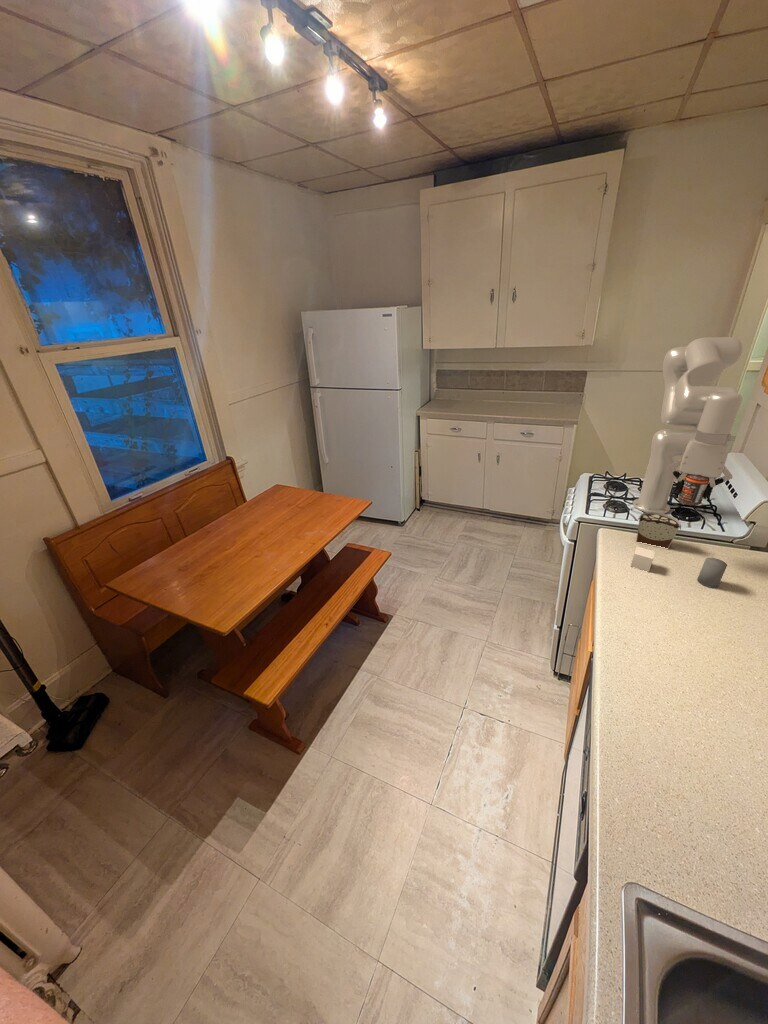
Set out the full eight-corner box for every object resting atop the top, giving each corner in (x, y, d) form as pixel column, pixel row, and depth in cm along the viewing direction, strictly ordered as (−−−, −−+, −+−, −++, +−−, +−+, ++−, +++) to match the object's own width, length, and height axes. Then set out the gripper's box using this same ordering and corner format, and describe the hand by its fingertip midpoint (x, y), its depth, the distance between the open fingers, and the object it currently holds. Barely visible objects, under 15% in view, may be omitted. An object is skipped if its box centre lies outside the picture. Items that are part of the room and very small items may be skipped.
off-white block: (632, 559, 130) (636, 546, 128) (650, 564, 127) (655, 551, 125) (630, 567, 127) (634, 553, 124) (648, 572, 124) (653, 558, 122)
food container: (673, 542, 138) (682, 516, 134) (673, 550, 134) (682, 524, 129) (632, 533, 144) (639, 508, 140) (631, 541, 140) (638, 515, 135)
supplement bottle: (672, 500, 125) (683, 466, 120) (685, 496, 127) (696, 462, 122) (692, 507, 120) (705, 472, 115) (705, 503, 123) (718, 468, 117)
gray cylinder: (696, 575, 121) (704, 555, 118) (717, 580, 119) (725, 560, 116) (698, 584, 118) (706, 564, 114) (719, 589, 115) (728, 569, 112)
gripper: (750, 438, 112) (727, 496, 121) (676, 429, 122) (659, 484, 130) (751, 445, 107) (727, 506, 115) (673, 436, 117) (656, 492, 125)
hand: (691, 494), depth 123 cm, fingers closed on supplement bottle, 6 cm apart
